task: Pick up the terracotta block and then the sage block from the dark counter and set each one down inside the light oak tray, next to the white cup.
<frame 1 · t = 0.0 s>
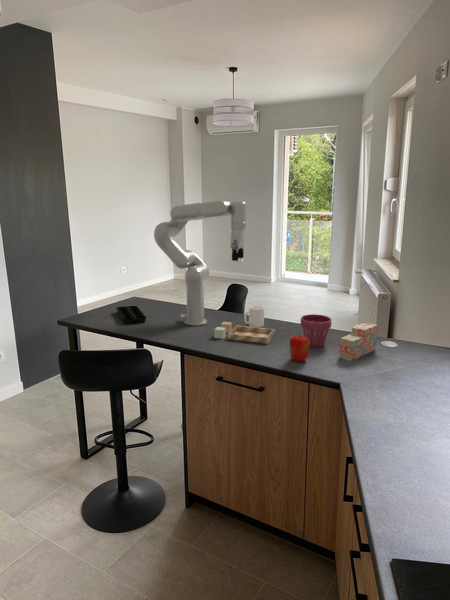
hand: (237, 259, 221), 37 cm above the worktop, tool pointing down, fingers open, 9 cm apart
apple: (298, 360, 184), on the worktop
sage block: (220, 337, 213), on the worktop
plant pot: (314, 344, 205), on the worktop
oak tray: (251, 337, 213), on the worktop
egg carton: (130, 318, 246), on the worktop
stack of blocks: (357, 354, 192), on the worktop
terracotta block: (226, 331, 222), on the worktop
cup: (253, 326, 232), on the worktop
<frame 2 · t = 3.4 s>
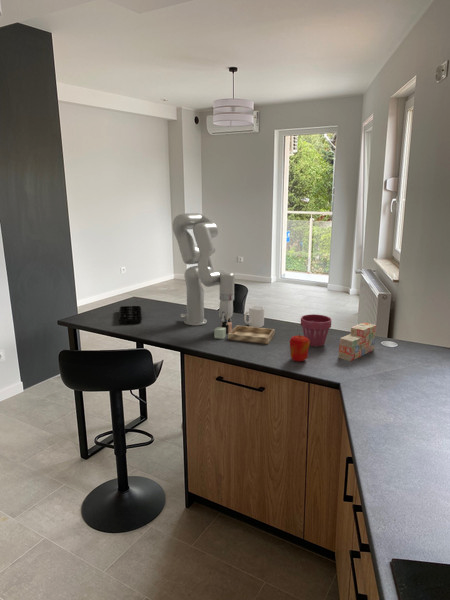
hand: (226, 330, 222), 0 cm above the worktop, tool pointing down, fingers closed on terracotta block, 4 cm apart
terracotta block: (226, 331, 222), on the worktop, touching gripper
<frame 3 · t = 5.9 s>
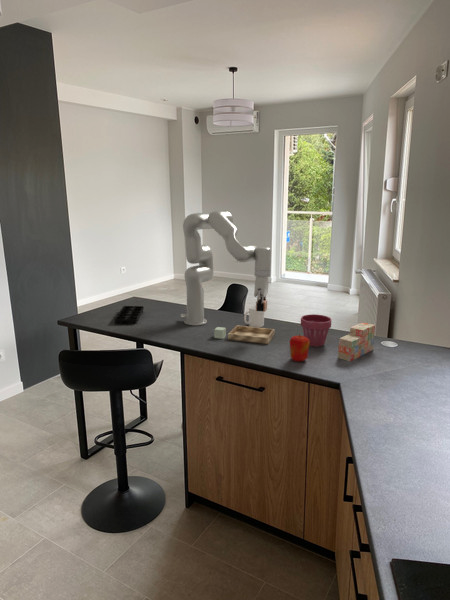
hand: (261, 309, 208), 15 cm above the worktop, tool pointing down, fingers closed on terracotta block, 4 cm apart
terracotta block: (261, 310, 208), point 14 cm above the worktop, touching gripper
when the fingers open (2 cm above the worktop, at t = 8.4 s): terracotta block drops 2 cm, resting on oak tray.
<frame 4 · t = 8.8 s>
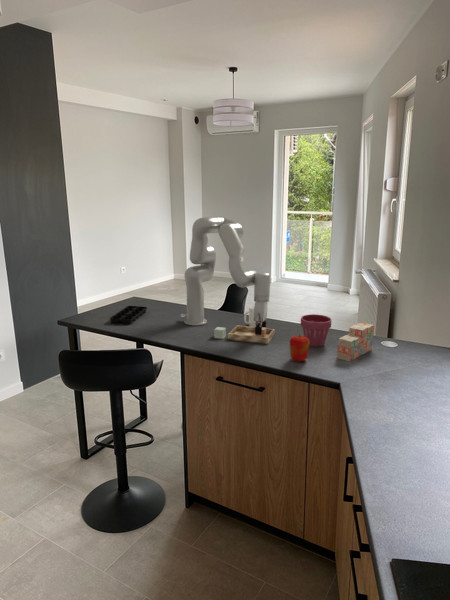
hand: (260, 331, 211), 3 cm above the worktop, tool pointing down, fingers open, 9 cm apart
terracotta block: (260, 336, 212), point 1 cm above the worktop, touching oak tray
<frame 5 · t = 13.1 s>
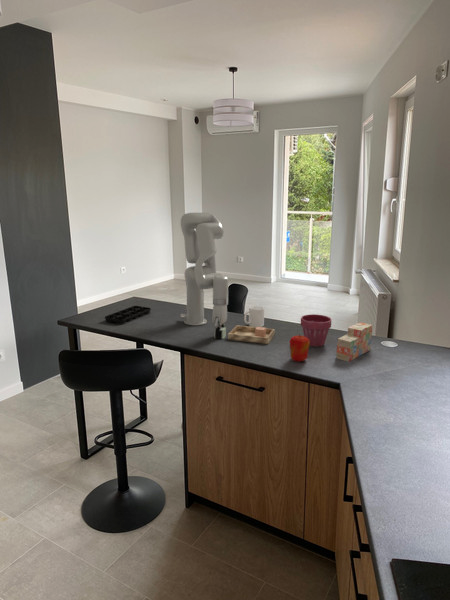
hand: (220, 336, 213), 0 cm above the worktop, tool pointing down, fingers closed on sage block, 4 cm apart
sage block: (220, 337, 213), on the worktop, touching gripper
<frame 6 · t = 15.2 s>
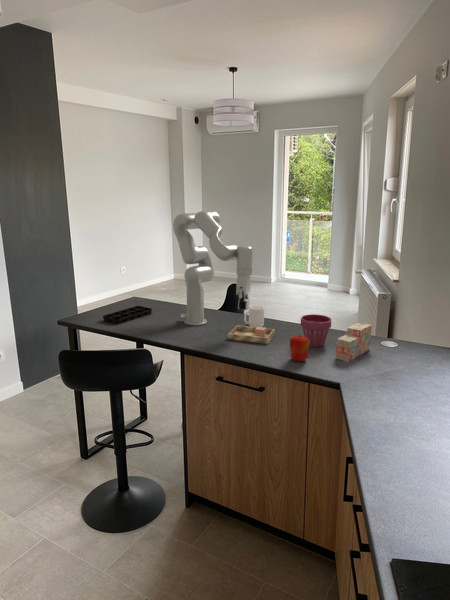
hand: (243, 307, 211), 15 cm above the worktop, tool pointing down, fingers closed on sage block, 4 cm apart
sage block: (243, 308, 211), point 14 cm above the worktop, touching gripper
when the fingers open (3 cm above the worktop, at t = 17.7 s): sage block drops 1 cm, resting on oak tray.
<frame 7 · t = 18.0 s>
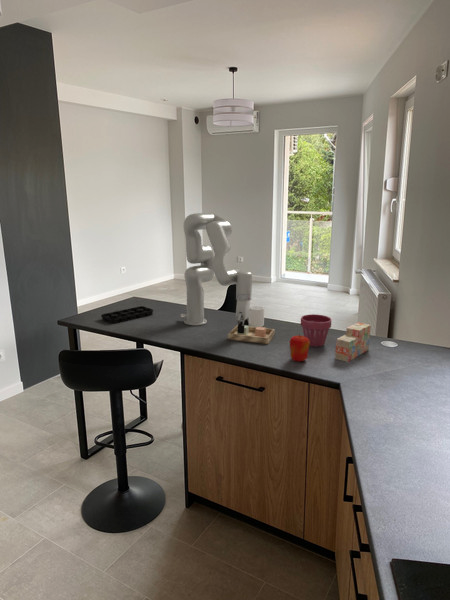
hand: (243, 330, 214), 3 cm above the worktop, tool pointing down, fingers open, 7 cm apart
sage block: (243, 335, 214), point 1 cm above the worktop, touching oak tray
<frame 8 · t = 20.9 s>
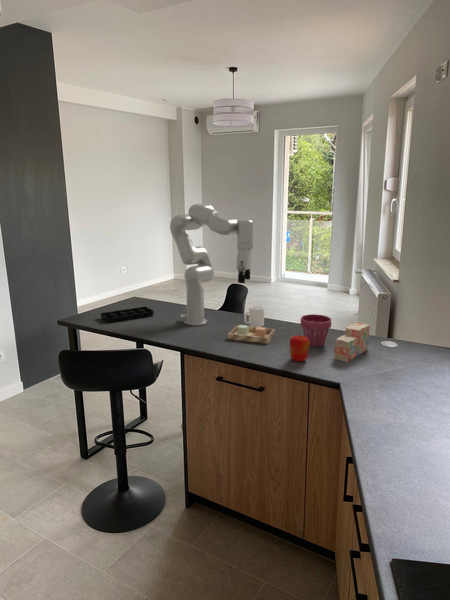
hand: (244, 281, 208), 28 cm above the worktop, tool pointing down, fingers open, 9 cm apart
at the end: terracotta block inside the target area on the oak tray (4.5 cm from its centre), point 0.6 cm above the oak tray's base; sage block inside the target area on the oak tray (4.5 cm from its centre), point 0.6 cm above the oak tray's base; the gripper is holding nothing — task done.
